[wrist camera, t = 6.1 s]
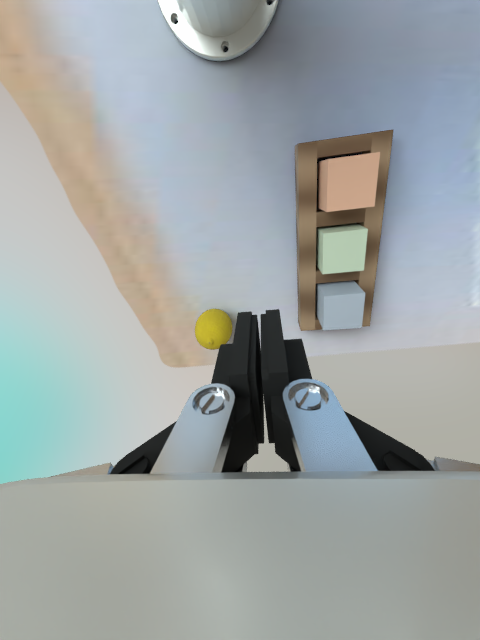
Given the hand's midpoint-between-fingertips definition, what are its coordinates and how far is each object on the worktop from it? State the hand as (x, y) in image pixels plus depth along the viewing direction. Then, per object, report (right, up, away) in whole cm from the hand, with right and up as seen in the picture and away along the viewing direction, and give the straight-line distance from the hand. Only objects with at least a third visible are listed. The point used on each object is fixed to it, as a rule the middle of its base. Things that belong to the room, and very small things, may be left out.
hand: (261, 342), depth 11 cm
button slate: (+13, +4, +28) cm, 31 cm away
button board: (+12, +12, +26) cm, 31 cm away
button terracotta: (+11, +17, +21) cm, 29 cm away
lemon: (-5, +2, +33) cm, 33 cm away
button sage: (+12, +11, +25) cm, 30 cm away
